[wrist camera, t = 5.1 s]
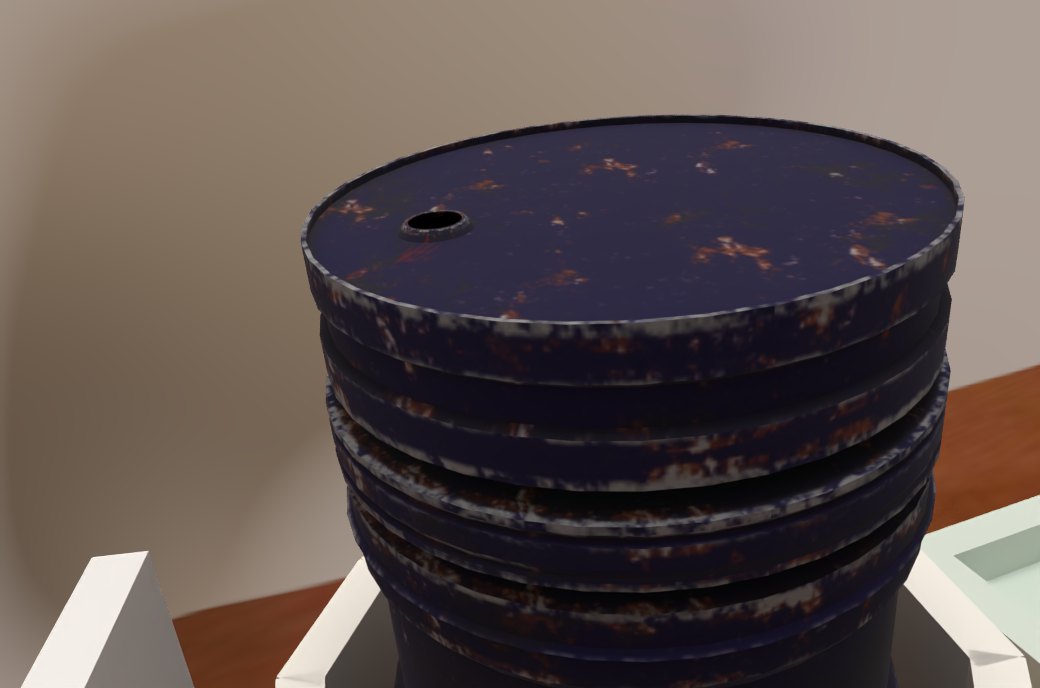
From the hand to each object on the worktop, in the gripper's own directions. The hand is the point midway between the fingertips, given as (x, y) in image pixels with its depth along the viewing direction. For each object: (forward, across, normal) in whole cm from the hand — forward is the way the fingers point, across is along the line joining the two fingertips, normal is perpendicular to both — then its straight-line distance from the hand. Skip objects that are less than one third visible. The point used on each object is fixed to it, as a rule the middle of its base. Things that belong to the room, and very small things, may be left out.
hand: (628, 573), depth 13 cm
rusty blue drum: (+3, +1, -11) cm, 11 cm away
